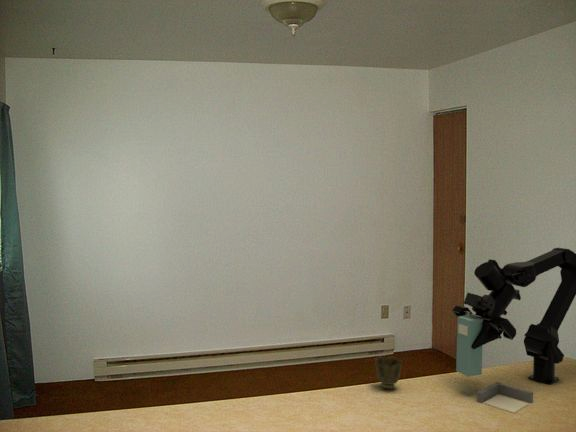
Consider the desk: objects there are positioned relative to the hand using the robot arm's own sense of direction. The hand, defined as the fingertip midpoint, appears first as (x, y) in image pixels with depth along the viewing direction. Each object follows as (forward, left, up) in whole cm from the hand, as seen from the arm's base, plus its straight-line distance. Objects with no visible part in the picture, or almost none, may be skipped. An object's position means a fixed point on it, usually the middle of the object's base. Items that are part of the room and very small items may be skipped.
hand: (465, 345), depth 144 cm
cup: (+12, -17, -14) cm, 24 cm away
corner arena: (-4, +9, -13) cm, 17 cm away
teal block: (-1, 0, -8) cm, 8 cm away
